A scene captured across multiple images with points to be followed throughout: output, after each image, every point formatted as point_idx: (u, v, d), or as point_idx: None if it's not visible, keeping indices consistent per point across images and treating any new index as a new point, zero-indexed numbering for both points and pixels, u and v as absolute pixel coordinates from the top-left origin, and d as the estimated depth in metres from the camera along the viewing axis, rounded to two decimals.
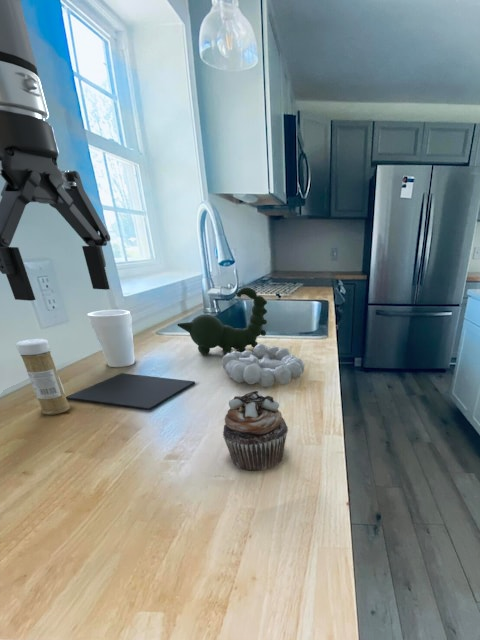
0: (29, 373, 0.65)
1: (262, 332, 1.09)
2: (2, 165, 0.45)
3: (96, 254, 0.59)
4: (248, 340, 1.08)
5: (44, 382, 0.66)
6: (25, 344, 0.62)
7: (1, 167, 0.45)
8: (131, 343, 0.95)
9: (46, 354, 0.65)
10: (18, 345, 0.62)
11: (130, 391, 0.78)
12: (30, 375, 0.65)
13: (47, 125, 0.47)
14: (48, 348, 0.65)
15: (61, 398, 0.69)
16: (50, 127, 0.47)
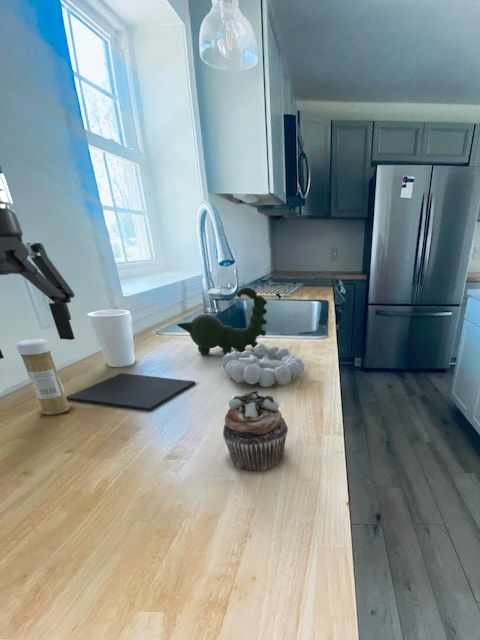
0: (29, 373, 0.65)
1: (262, 332, 1.09)
2: None
3: (61, 310, 0.67)
4: (248, 340, 1.08)
5: (44, 382, 0.66)
6: (25, 344, 0.62)
7: None
8: (131, 343, 0.95)
9: (46, 354, 0.65)
10: (18, 345, 0.62)
11: (130, 391, 0.78)
12: (30, 375, 0.65)
13: (10, 213, 0.55)
14: (48, 348, 0.65)
15: (61, 398, 0.69)
16: (13, 213, 0.56)
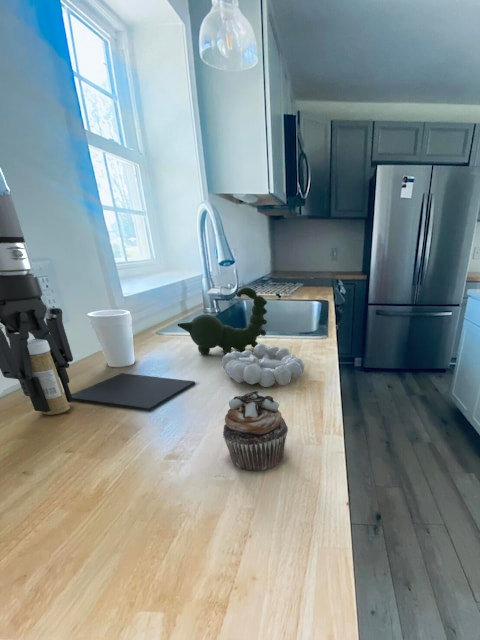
0: None
1: (262, 332, 1.09)
2: None
3: (60, 375, 0.69)
4: (248, 340, 1.08)
5: (44, 382, 0.66)
6: None
7: None
8: (131, 343, 0.95)
9: (46, 354, 0.65)
10: None
11: (130, 391, 0.78)
12: None
13: (32, 278, 0.59)
14: (48, 348, 0.65)
15: (61, 398, 0.69)
16: (34, 278, 0.60)
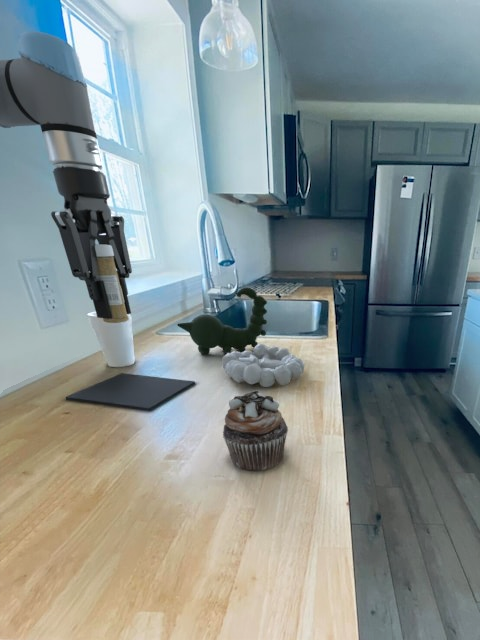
0: None
1: (262, 332, 1.09)
2: (71, 211, 0.60)
3: (120, 285, 0.70)
4: (248, 340, 1.08)
5: (108, 287, 0.67)
6: None
7: (71, 213, 0.60)
8: (131, 343, 0.95)
9: (110, 258, 0.66)
10: None
11: (130, 391, 0.78)
12: None
13: (103, 175, 0.61)
14: (112, 253, 0.66)
15: (122, 307, 0.70)
16: (104, 176, 0.61)
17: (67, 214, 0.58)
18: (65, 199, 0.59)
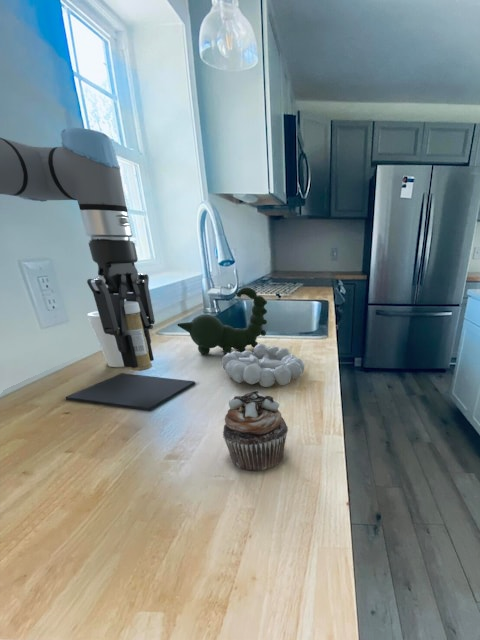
0: None
1: (262, 332, 1.09)
2: (105, 278, 0.66)
3: (145, 336, 0.77)
4: (248, 340, 1.08)
5: (134, 340, 0.73)
6: None
7: (105, 279, 0.66)
8: None
9: (137, 314, 0.72)
10: None
11: (130, 391, 0.78)
12: None
13: (132, 244, 0.67)
14: (139, 309, 0.73)
15: (147, 356, 0.76)
16: (134, 244, 0.68)
17: (101, 281, 0.64)
18: (99, 267, 0.66)
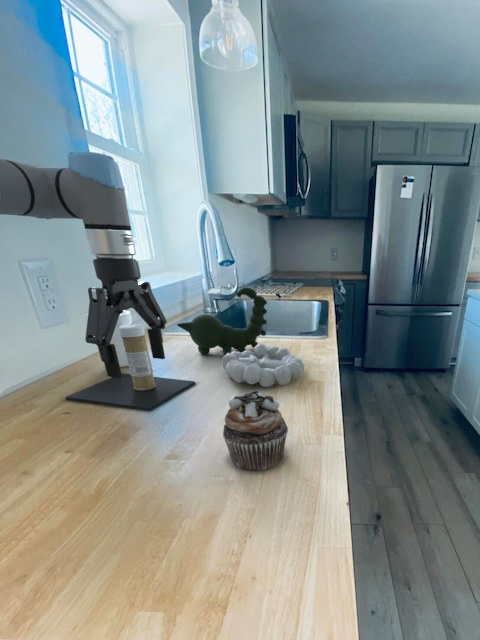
0: (128, 353, 0.75)
1: (262, 332, 1.09)
2: (107, 292, 0.67)
3: (157, 335, 0.81)
4: (248, 340, 1.08)
5: (139, 361, 0.75)
6: (128, 328, 0.72)
7: (106, 293, 0.67)
8: None
9: (142, 337, 0.74)
10: (122, 329, 0.72)
11: (130, 391, 0.78)
12: (129, 355, 0.75)
13: (136, 262, 0.68)
14: (144, 332, 0.75)
15: (151, 376, 0.79)
16: (137, 262, 0.69)
17: (103, 290, 0.65)
18: (103, 284, 0.67)
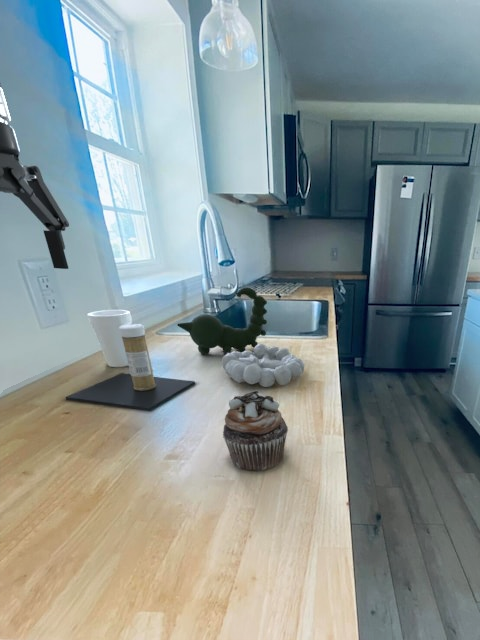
0: (128, 353, 0.75)
1: (262, 332, 1.09)
2: None
3: (55, 238, 0.69)
4: (248, 340, 1.08)
5: (139, 361, 0.75)
6: (128, 328, 0.72)
7: None
8: None
9: (142, 337, 0.74)
10: (122, 329, 0.72)
11: (130, 391, 0.78)
12: (129, 355, 0.75)
13: (9, 128, 0.56)
14: (144, 332, 0.75)
15: (151, 376, 0.79)
16: (11, 129, 0.57)
17: None
18: None
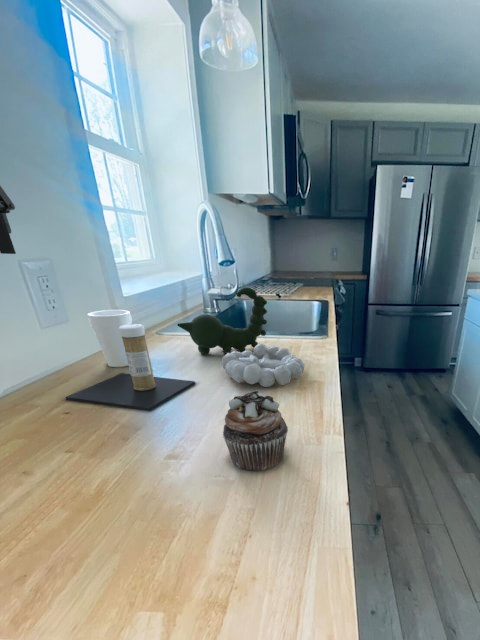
0: (128, 353, 0.75)
1: (262, 332, 1.09)
2: None
3: None
4: (248, 340, 1.08)
5: (139, 361, 0.75)
6: (128, 328, 0.72)
7: None
8: None
9: (142, 337, 0.74)
10: (122, 329, 0.72)
11: (130, 391, 0.78)
12: (129, 355, 0.75)
13: None
14: (144, 332, 0.75)
15: (151, 376, 0.79)
16: None
17: None
18: None
